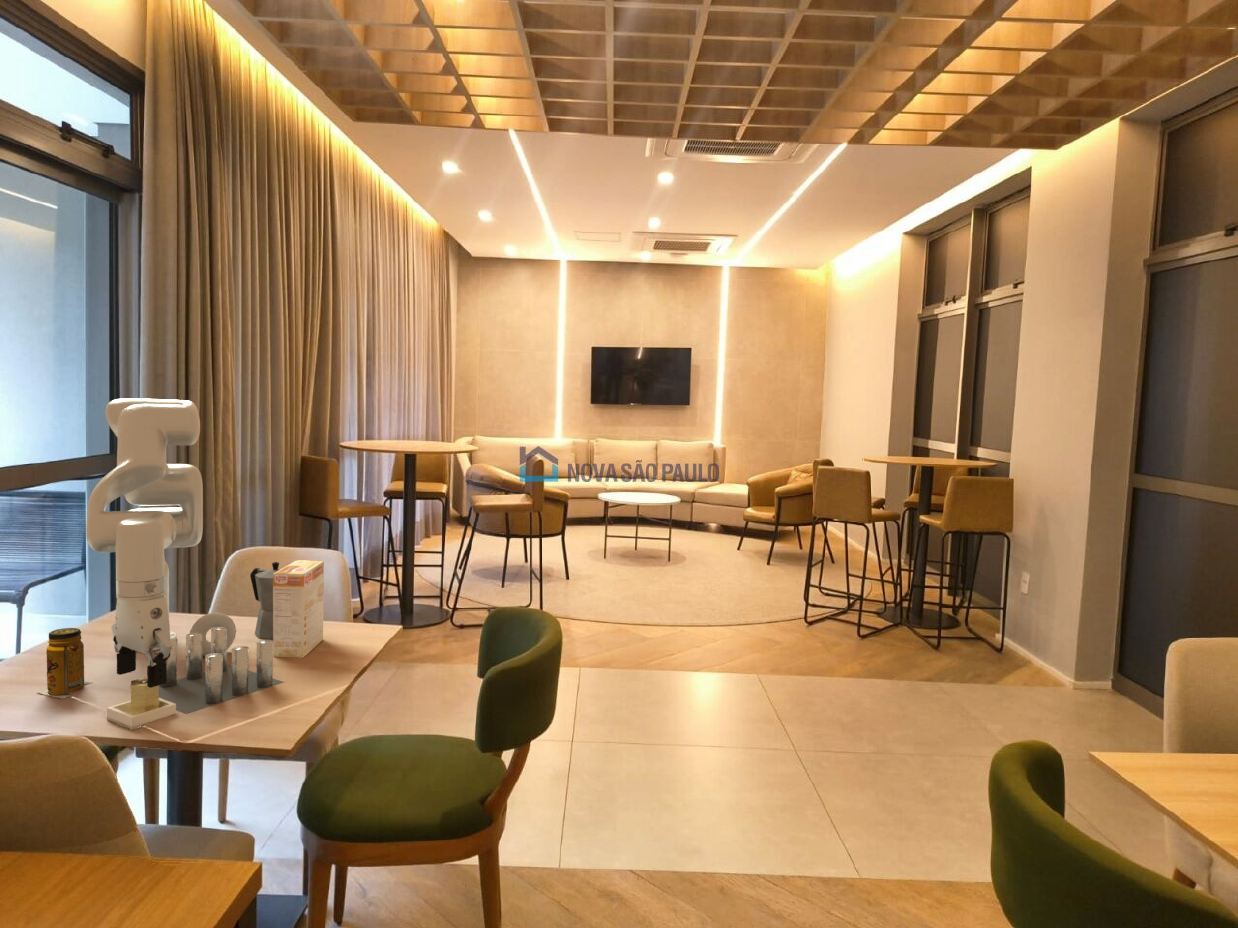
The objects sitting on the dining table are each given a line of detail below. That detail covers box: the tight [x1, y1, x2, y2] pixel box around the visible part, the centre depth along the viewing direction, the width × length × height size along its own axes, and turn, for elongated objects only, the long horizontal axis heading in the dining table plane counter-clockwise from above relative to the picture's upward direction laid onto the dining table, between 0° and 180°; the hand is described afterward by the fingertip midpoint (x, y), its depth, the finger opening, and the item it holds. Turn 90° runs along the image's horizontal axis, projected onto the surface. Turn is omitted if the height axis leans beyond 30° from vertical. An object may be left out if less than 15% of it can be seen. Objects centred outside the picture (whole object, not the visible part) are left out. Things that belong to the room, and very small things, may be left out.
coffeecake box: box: [272, 559, 325, 659], centre depth 191 cm, size 15×7×20 cm, turn 2°
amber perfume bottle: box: [130, 676, 159, 716], centre depth 150 cm, size 4×5×6 cm
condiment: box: [36, 627, 94, 699], centre depth 161 cm, size 7×8×12 cm
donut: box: [189, 612, 237, 657], centre depth 184 cm, size 10×4×10 cm, turn 138°
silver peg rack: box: [160, 627, 274, 705], centre depth 165 cm, size 18×14×9 cm
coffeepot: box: [249, 561, 281, 640], centre depth 202 cm, size 15×9×18 cm, turn 62°
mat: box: [159, 664, 284, 715], centre depth 164 cm, size 18×21×1 cm
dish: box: [106, 698, 177, 731], centre depth 149 cm, size 8×8×2 cm
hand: (141, 678), depth 149 cm, fingers open, 9 cm apart
